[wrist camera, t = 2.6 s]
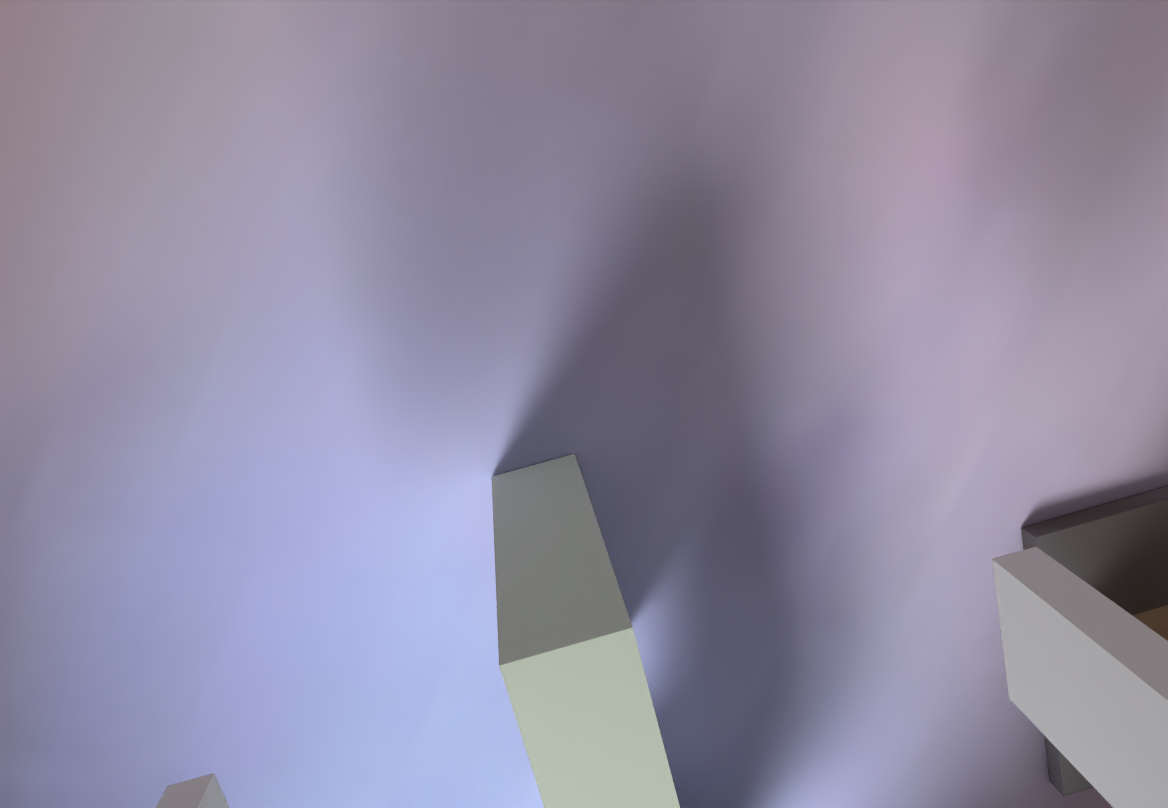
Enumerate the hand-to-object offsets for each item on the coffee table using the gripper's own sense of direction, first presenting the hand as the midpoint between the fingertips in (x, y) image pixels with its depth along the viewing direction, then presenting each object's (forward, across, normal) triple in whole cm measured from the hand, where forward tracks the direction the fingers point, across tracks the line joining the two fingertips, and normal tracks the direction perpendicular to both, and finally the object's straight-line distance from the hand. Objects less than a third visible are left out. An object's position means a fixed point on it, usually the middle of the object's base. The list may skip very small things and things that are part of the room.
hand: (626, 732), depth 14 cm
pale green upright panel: (+7, -1, -4) cm, 8 cm away
